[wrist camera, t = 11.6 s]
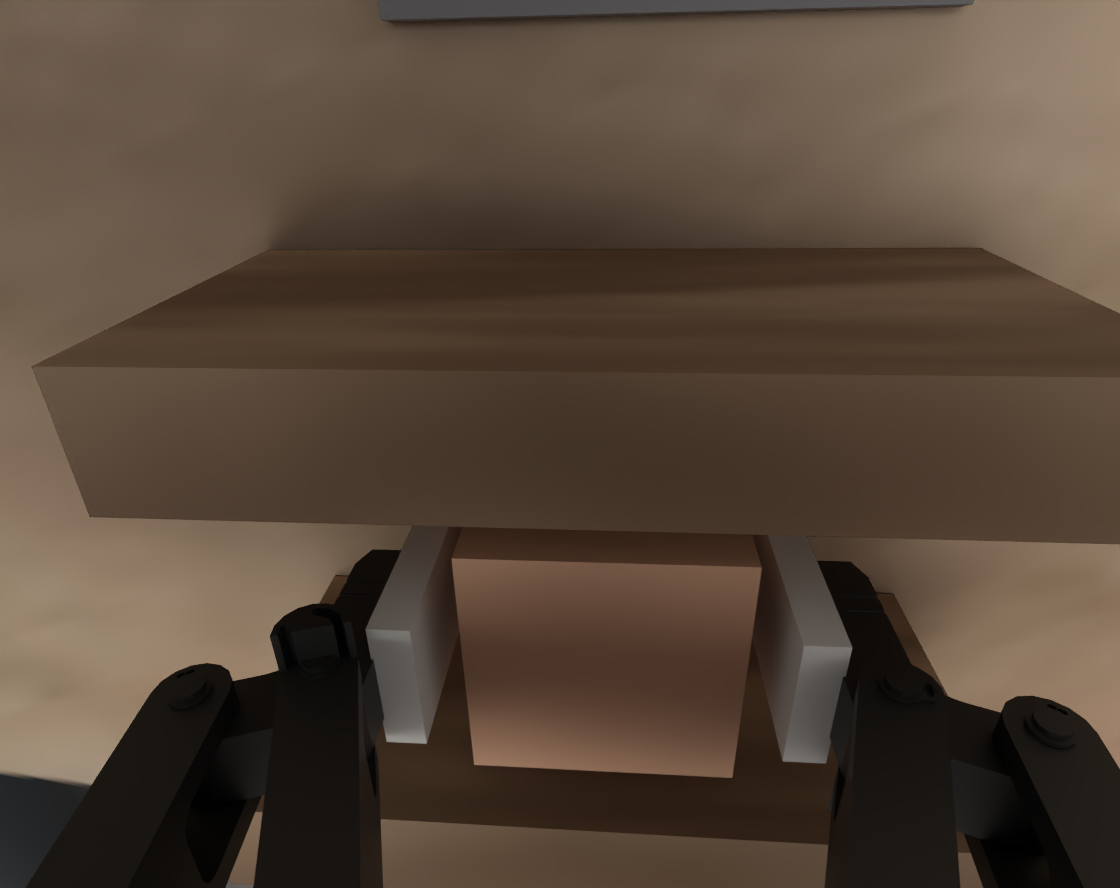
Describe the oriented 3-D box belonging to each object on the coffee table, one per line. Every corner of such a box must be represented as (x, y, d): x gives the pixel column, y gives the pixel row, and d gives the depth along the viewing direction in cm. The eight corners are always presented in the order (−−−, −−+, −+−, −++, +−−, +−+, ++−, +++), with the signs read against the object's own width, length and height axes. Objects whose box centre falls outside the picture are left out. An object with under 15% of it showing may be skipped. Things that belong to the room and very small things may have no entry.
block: (509, 389, 18) (451, 558, 12) (710, 392, 17) (762, 567, 11) (518, 552, 20) (474, 764, 14) (696, 557, 20) (732, 777, 14)
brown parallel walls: (267, 249, 16) (32, 366, 10) (980, 248, 15) (1257, 379, 9) (348, 640, 22) (231, 883, 15) (876, 660, 21) (997, 933, 14)
